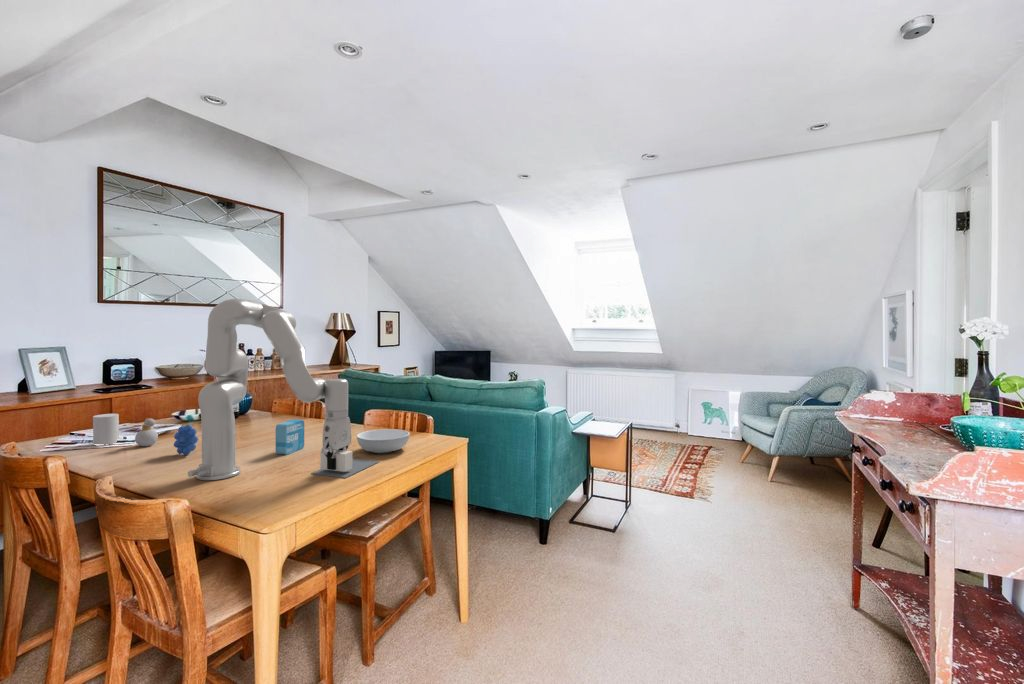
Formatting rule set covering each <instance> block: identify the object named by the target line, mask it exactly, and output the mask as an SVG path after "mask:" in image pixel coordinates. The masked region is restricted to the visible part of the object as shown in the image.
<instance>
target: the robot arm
mask: <svg viewBox="0 0 1024 684" xmlns="http://www.w3.org/2000/svg"><path fill="white" fill-rule="evenodd" d="M238 325H239V326H240V325H245V326H247V325H250V326H252V327H253V326H254V327H256V328H259V329H262V330H263V332H264V333H265V335H266V337H267V338H268V339H267V340H269V343H270V344H271V345H272V347H273V348H274V351H275V352H276V354H277V356H278V357H279V360H280V364H281V368H282V371H283V375H284V377H285V380H286V382H287V383H288V386H289V387H290V389H291V391H292V392H293V394H294V395H295V397H296V398H297V399H298V400H300V402H302V403H305V404H311V403H314V402H315V401H318V400H321V399H324V421H323V428H322V447H321V450H320V452H322V453H323V454H324V455H325V456H326V458H327V469H330V470H335V469H336V458H335V452H336V450H344V451H348V448H349V446H350V445H351V444H352V427H351V426H352V424H351V419H350V416H349V381H348V380H347V379H345V378H322V377H312V375H311V373H310V372H309V369H308V367H307V365H306V359H305V355H306V346H305V344H304V343H303V342H302V339H301V338H300V336H299V335H298V333H297V331H296V327H297V321H296V318H295V316H294V315H293V314H292V313H290V312H289V311H286V310H283V309H279V308H277V307H274V306H271V305H268V304H264V303H262V302H258V301H255V300H250V299H243V298H231V299H226V300H223V301H222V302H219V303H218V304H216V305H215V306H214V307H213V308H212V309H211V311H210V313H209V315H208V319H207V338H206V348H205V350H206V351H205V361H204V362H205V363H204V365H205V367H204V368H205V371H206V372H207V374H209V376H211V377H214V378H218V380H216V381H215V380H214V381H212V382H209V383H207V384H206V385H204V386H203V387H202V388H201V389H200V391H199V393H198V397H197V398H198V399H197V400H198V407H199V410H200V419H201V463H199V464H198V467H196V469H192V470H188V471H187V476H188V477H189V478H192V477H194V476H196V479H198V480H200V481H216V480H217V481H218V480H223V479H224V480H225V479H230V478H232V477H235V476H237V475H239V474H240V473H241V471H242V470H241V467H239V466H236V419H235V413H234V409H233V406H235V405H237V404H239V403H241V402H242V401H243V400H244V399H245V397H246V394H247V389H248V381H249V379H248V378H249V377H248V376H249V359H248V356H247V354H246V353H245V352H244V351H243V350H242V349H239V348H237V343H238V334H237V329H236V328H237V326H238ZM330 451H332V453H331V452H330Z"/></svg>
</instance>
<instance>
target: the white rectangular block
mask: <svg viewBox="0 0 1024 684" xmlns="http://www.w3.org/2000/svg"><path fill="white" fill-rule="evenodd" d="M330 452H331V453H332V451H330ZM319 456H320V459H319V462H320V466H319V467H320V469H326V470H330V469H327V458H326V456H325V455H324V454H323V453H322V452H321V451H320V455H319ZM335 458H336V469H335V470H334V471H342V472H346V471H348V470H350V469H352V458H353V451H352V450H347V451H344V450H338V449H337V450H336V452H335Z"/></svg>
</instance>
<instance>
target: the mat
mask: <svg viewBox="0 0 1024 684" xmlns="http://www.w3.org/2000/svg"><path fill="white" fill-rule="evenodd" d="M380 462H381V461H380V460H373V459H372V460H371V459H363V458H362V459H361V458H353V457H352V469H350V470H348V471H346V472H342V471H334V470H326V469H319V468H318V469H317V470H315V471H312V472H311V473H310V475H317V476H324V477H332V478H341V479H348V478H349V477H352V476H354V475H356V474H358V473H361V472H363V471H364V470H366V469H368V468H370V467H373V466H374V465H377V464H378V463H380Z"/></svg>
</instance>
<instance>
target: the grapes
mask: <svg viewBox="0 0 1024 684" xmlns="http://www.w3.org/2000/svg"><path fill="white" fill-rule="evenodd" d="M197 433H198V431H197V429H196V428H193V426H192V425H191V424H186V425H181V426H179V427H178V429H177V432H176V433H174V436H173V438H174V439H175V441H174V443H173V446H174V447H175V448H177V449H176V453H178V454H182V455H184V456H188V455H189V454H191V452H193V451H195V449H196V448H197V446H196V445H197V443H198V441H199V437H198V436H197Z"/></svg>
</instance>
